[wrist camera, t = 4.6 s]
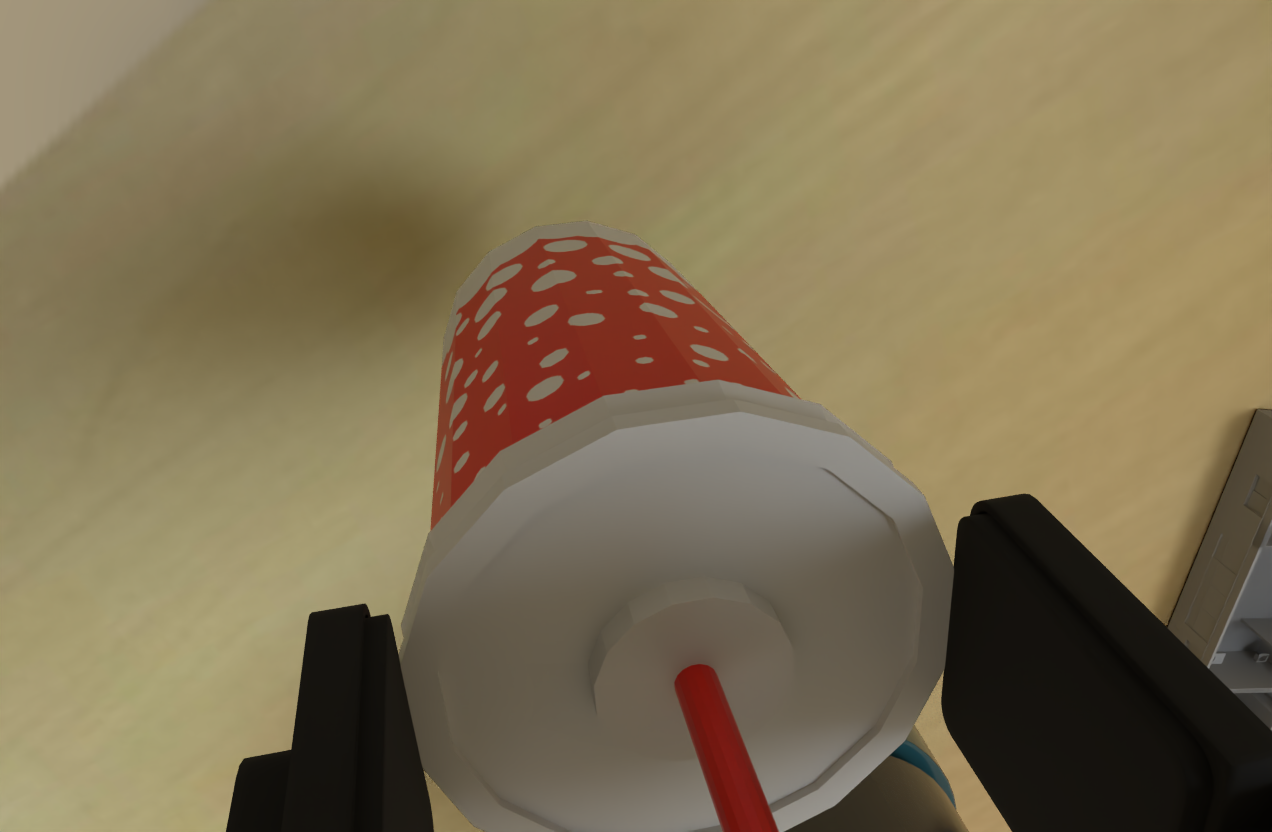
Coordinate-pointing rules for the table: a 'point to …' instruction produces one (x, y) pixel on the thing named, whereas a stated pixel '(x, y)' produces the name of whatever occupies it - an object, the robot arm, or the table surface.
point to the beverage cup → (653, 563)
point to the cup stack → (895, 797)
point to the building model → (1236, 580)
